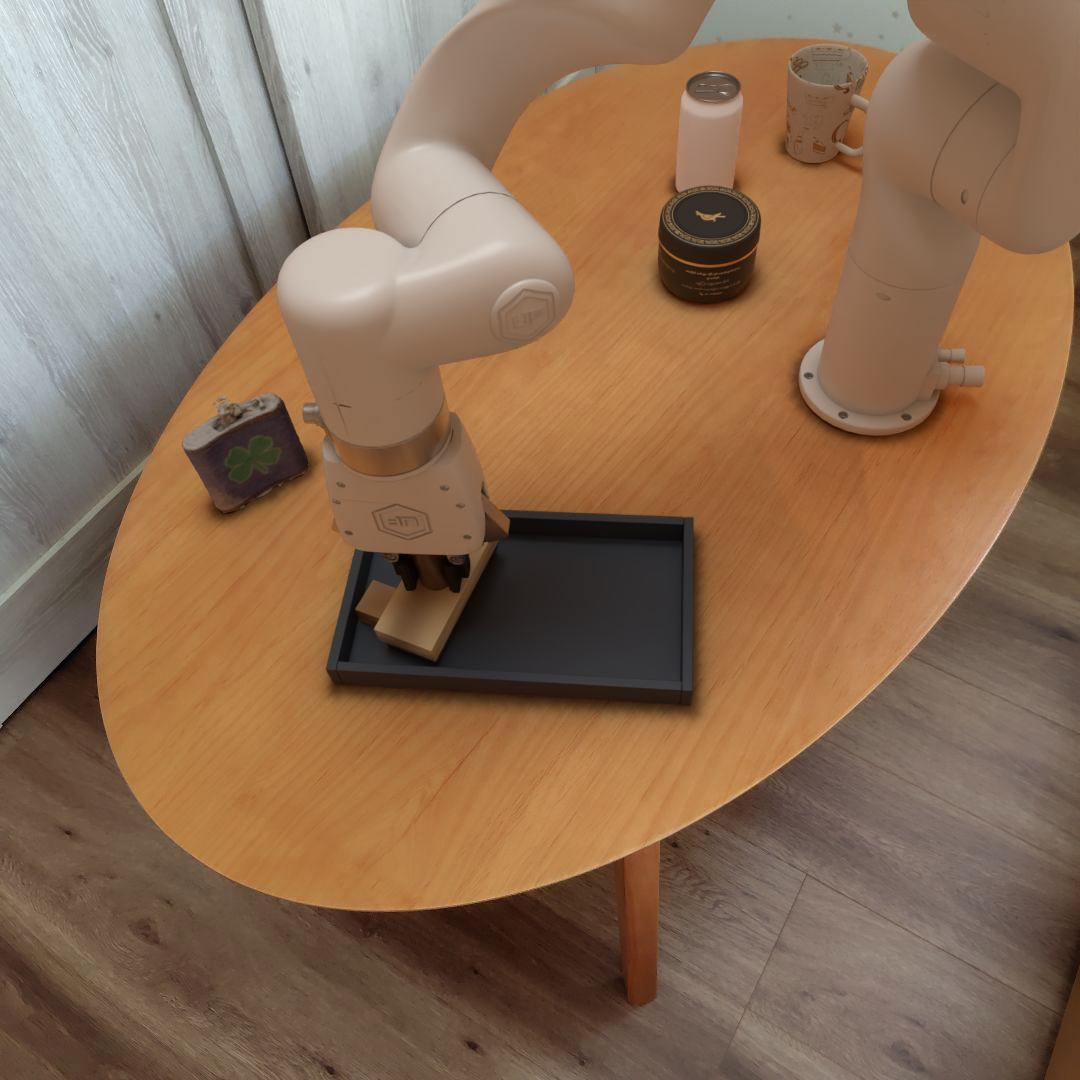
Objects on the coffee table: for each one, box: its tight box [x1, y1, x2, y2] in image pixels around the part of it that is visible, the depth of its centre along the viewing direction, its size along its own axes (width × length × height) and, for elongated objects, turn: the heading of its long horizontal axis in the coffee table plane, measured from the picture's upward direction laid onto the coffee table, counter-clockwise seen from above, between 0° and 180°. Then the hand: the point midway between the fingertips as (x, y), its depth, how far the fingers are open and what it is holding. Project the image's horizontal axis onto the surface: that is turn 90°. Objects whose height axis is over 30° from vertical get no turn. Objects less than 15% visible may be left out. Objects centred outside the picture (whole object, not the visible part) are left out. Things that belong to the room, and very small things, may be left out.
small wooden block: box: [355, 580, 397, 627], centre depth 76 cm, size 3×3×2 cm
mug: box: [785, 43, 870, 164], centre depth 104 cm, size 8×13×10 cm, turn 43°
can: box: [675, 70, 744, 193], centre depth 101 cm, size 6×6×12 cm
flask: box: [181, 392, 311, 514], centre depth 82 cm, size 9×3×11 cm, turn 125°
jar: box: [657, 186, 762, 305], centre depth 95 cm, size 10×10×8 cm
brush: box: [374, 540, 499, 666], centre depth 73 cm, size 5×12×10 cm, turn 156°
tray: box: [325, 509, 695, 707], centre depth 76 cm, size 28×16×3 cm, turn 85°
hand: (435, 575), depth 73 cm, fingers closed on brush, 2 cm apart
